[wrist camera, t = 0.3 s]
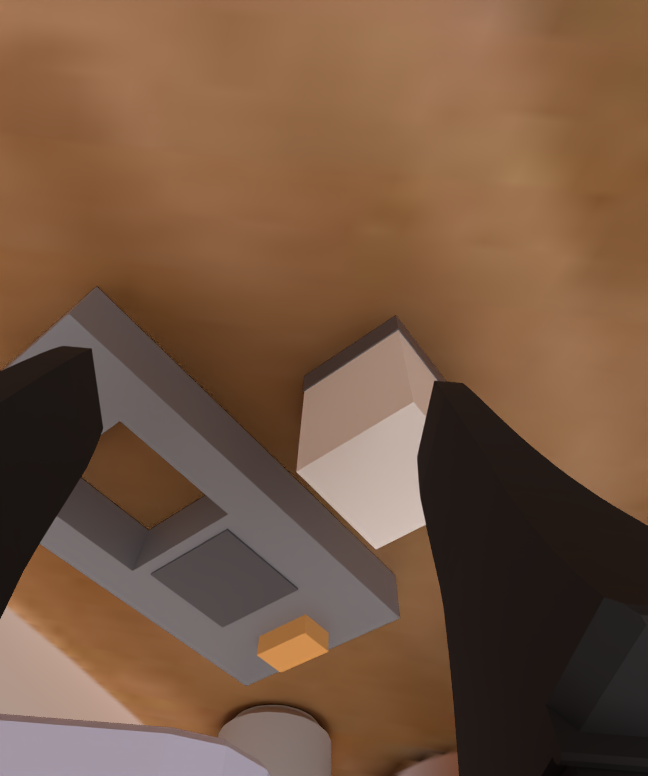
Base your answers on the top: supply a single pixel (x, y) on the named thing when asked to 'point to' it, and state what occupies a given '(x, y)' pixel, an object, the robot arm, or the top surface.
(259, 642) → the grey slotted holder
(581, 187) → the top surface
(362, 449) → the plug
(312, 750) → the can
